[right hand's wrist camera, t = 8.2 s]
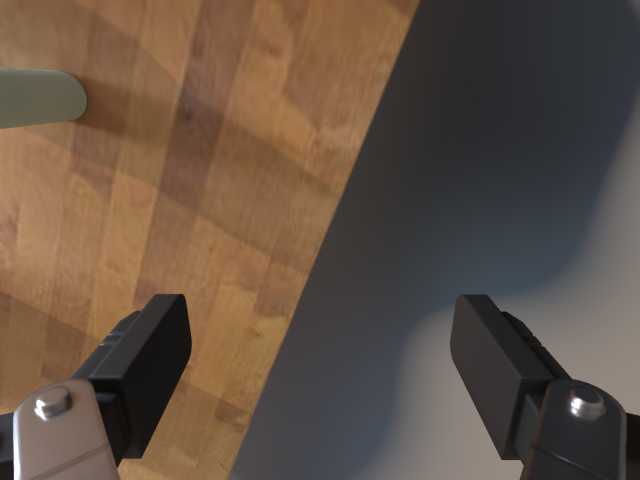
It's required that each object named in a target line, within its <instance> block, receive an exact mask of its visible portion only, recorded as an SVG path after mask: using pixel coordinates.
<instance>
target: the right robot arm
mask: <svg viewBox="0 0 640 480" xmlns="http://www.w3.org/2000/svg"><path fill="white" fill-rule="evenodd" d="M191 348H192V339H191V332H190V325H189V318H188V311H187V304H186V299H185V297H184V295H183V294H156V295H154V296H153V297H152V299H151V300H150V301H149V302H148V304H147V305H146V306H145V307H144V309H143V310H142V311H135V312H134V313H132V314H130V315H129V316H127V317H126V318H124V319H123V320H121V321H120V322H119V323H118V324H117V325H116V326H115V328H114V329H113V330H112V331H111V332H110V335H108V336H107V337H106V338H105V339H104V340H103V341H102V343H101V346H98V347H97V348H96V350H95V351H94V352H93V353H92V354H91V355H90V357H89V358H88V359H87V360H86V361H85V362H84V364H83V365H82V366H81V367H80V368H79V369H78V370H77V372H76V373H75V374H74V375H73V376H72V377H71V379H66V380H61V381H57V382H54V383H51V384H49V385H46V386H44V387H42V388H40V389H38V390H37V391H35V392H33V393H32V394H31V395H29V396H28V397H27V398H26V399H24V400H23V401H22V402H21V403H20V405H19V406H18V407H17V409H16V410H15V412H12V413H8V414H3V415H0V480H120V477H119V474H118V470H117V468H118V466H119V464H120V462H121V460H122V458H142V456H143V454H144V452H145V450H146V448H147V446H148V444H149V441H150V439H151V437H152V435H153V433H154V431H155V429H156V427H157V425H158V423H159V421H160V419H161V417H162V415H163V413H164V410H165V408H166V406H167V404H168V402H169V400H170V398H171V396H172V394H173V392H174V390H175V388H176V386H177V384H178V382H179V379H180V377H181V375H182V373H183V371H184V369H185V367H186V365H187V363H188V361H189V358H190V354H191ZM450 349H451V355H452V359H453V362H454V364H455V366H456V368H457V370H458V372H459V374H460V376H461V378H462V380H463V382H464V384H465V386H466V388H467V390H468V392H469V394H470V396H471V398H472V400H473V402H474V405H475V406H476V409H477V411H478V413H479V415H480V417H481V419H482V421H483V423H484V425H485V427H486V429H487V431H488V433H489V435H490V437H491V439H492V441H493V443H494V445H495V447H496V449H497V451H498V453H499V455H500V457H501V459H502V460H521V462H522V463H523V465H524V467H523V470H522V474H521V477H520V480H640V416H639V415H634V414H630V413H626V412H625V410H624V409H623V407H622V406H621V405H620V403H619V402H618V401H617V400H616V399H614V398H613V397H612V396H611V395H609V394H608V393H607V392H605V391H603V390H602V389H600V388H598V387H596V386H594V385H591V384H589V383H586V382H583V381H579V380H574V379H572V378H571V377H570V376H569V375H568V374H567V373H566V371H565V370H564V369H563V368H562V367H561V366H560V365H559V363H558V362H557V361H556V360H555V359H554V358H553V356H552V355H551V354H550V353H549V352H548V351H547V350H546V348H545V347H543V346H542V345H541V343H540V342H539V340H538V339H537V338H536V337H535V336H533V333H532V332H531V331H530V330H529V329H528V328H527V327H526V325H525V324H524V323H523V322H522V321H520V320H519V319H517V318H516V317H514V316H512V315H511V314H509V313H508V312H501V311H500V310H499V309H498V308H497V306H496V305H495V304H494V303H493V301H492V300H491V299H490V298H489V297H488V296H487V295H459V296H458V297H457V300H456V305H455V312H454V319H453V325H452V332H451V339H450Z"/></svg>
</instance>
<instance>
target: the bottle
mask: <svg viewBox="0 0 640 480" xmlns="http://www.w3.org/2000/svg"><path fill="white" fill-rule="evenodd" d="M86 106H87V97H86V93H85V91H84V88H83V87H82V85H81V84H80V83H79V81H78V80H77V79H76V78H74V77H73V76H72V75H70V74H68V73H65V72H61V71H49V70H35V69H20V68H6V67H0V129H5V128H13V127H21V126H29V125H37V124H45V123H53V122H61V121H69V120H75V119H77V118H79V117H80V116H81V115H82V114H83V113H84V111H85V109H86Z"/></svg>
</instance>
